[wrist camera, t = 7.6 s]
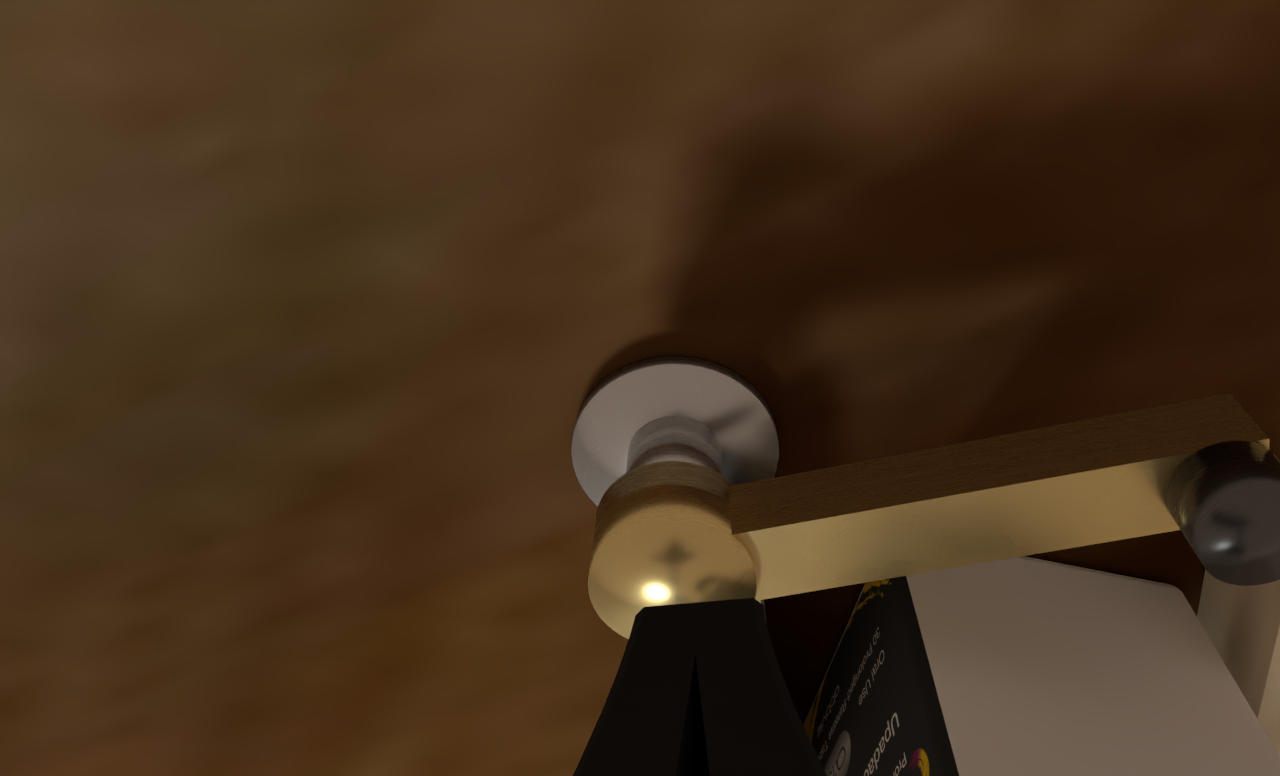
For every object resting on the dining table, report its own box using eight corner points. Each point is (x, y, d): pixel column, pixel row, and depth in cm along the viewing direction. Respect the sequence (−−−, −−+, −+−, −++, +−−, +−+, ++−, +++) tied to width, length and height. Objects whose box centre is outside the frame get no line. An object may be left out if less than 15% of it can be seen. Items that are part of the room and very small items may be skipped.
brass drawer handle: (619, 594, 21) (609, 710, 18) (576, 477, 19) (559, 587, 17) (1233, 488, 19) (1319, 603, 16) (1238, 349, 17) (1334, 452, 15)
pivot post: (785, 515, 23) (794, 589, 21) (592, 532, 23) (583, 606, 21) (768, 344, 21) (777, 408, 19) (555, 368, 21) (541, 432, 19)
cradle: (1205, 791, 27) (1258, 897, 25) (753, 817, 28) (760, 921, 26) (1274, 454, 21) (1353, 548, 19) (707, 507, 23) (710, 602, 20)
